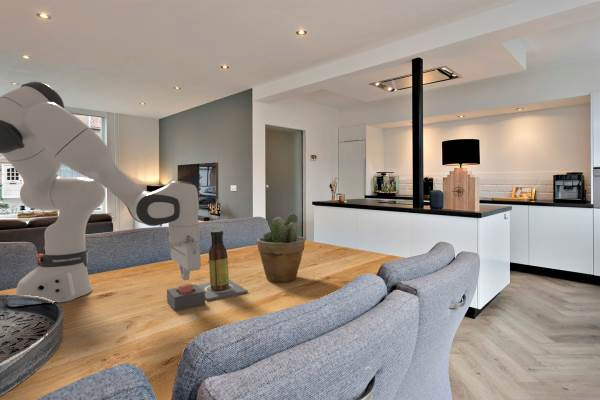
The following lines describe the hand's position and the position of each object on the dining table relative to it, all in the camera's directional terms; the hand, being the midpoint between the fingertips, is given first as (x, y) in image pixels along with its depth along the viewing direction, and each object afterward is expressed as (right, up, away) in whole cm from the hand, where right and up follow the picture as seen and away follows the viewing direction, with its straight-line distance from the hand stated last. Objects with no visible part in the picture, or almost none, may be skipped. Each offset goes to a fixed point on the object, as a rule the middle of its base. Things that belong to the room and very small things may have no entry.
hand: (185, 279), depth 104 cm
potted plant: (+28, -6, +27) cm, 39 cm away
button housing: (0, -8, +1) cm, 8 cm away
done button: (0, -5, 0) cm, 5 cm away
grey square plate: (+7, -7, +13) cm, 16 cm away
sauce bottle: (+7, -6, +12) cm, 16 cm away
